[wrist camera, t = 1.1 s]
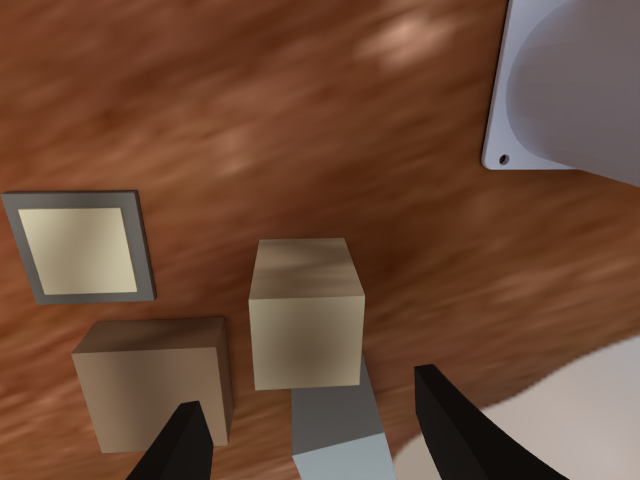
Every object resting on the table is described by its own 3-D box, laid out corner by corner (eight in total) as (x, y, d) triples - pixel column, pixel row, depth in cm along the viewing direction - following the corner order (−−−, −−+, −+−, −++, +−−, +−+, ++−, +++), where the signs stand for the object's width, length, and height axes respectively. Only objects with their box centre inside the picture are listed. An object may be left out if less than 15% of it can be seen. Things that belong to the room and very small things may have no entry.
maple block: (343, 237, 20) (365, 296, 15) (341, 308, 22) (359, 385, 16) (259, 239, 20) (248, 299, 14) (263, 311, 21) (255, 390, 16)
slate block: (361, 349, 23) (384, 432, 18) (374, 401, 25) (400, 491, 19) (291, 367, 23) (292, 455, 18) (309, 418, 25) (316, 512, 19)
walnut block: (224, 313, 22) (216, 347, 19) (234, 404, 24) (227, 445, 22) (99, 318, 21) (71, 353, 18) (123, 410, 24) (102, 453, 21)
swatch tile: (137, 190, 18) (132, 193, 18) (156, 296, 20) (153, 302, 20) (6, 191, 18) (-3, 195, 17) (41, 300, 20) (34, 306, 19)
